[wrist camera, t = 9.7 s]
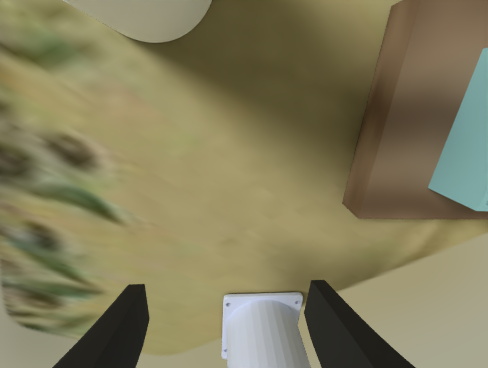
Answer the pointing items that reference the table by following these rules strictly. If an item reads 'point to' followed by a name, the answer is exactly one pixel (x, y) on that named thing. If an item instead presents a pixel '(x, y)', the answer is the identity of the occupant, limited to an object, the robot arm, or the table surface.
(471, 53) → the brown flat block
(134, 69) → the table surface
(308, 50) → the table surface
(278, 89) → the table surface
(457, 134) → the light blue open box
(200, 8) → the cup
